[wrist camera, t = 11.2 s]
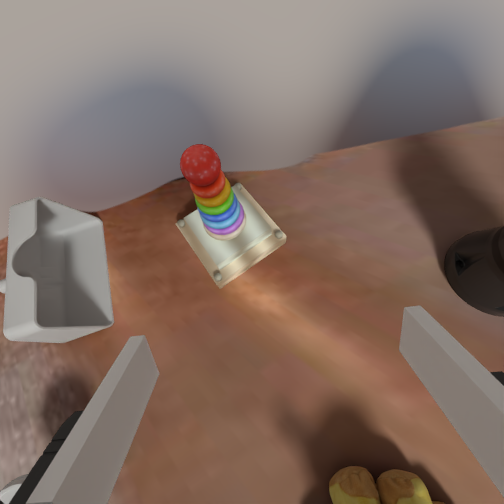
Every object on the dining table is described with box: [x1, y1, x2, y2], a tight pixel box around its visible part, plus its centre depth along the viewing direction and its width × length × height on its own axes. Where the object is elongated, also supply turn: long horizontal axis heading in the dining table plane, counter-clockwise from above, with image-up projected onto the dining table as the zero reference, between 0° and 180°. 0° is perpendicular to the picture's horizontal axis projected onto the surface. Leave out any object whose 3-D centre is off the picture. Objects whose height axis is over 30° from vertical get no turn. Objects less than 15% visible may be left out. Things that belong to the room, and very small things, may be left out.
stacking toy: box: [180, 144, 246, 241], centre depth 39 cm, size 8×8×19 cm
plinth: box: [176, 183, 286, 289], centre depth 50 cm, size 16×16×6 cm
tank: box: [0, 197, 114, 343], centre depth 47 cm, size 25×16×12 cm, turn 19°
